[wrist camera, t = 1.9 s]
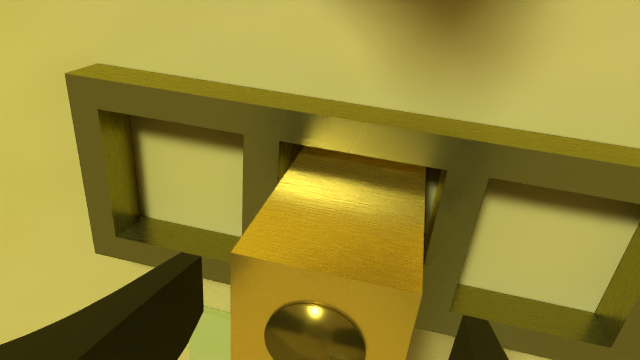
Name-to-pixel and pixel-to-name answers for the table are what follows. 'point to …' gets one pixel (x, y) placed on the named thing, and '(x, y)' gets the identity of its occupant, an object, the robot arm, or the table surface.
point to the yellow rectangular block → (331, 262)
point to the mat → (211, 336)
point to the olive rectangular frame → (374, 141)
